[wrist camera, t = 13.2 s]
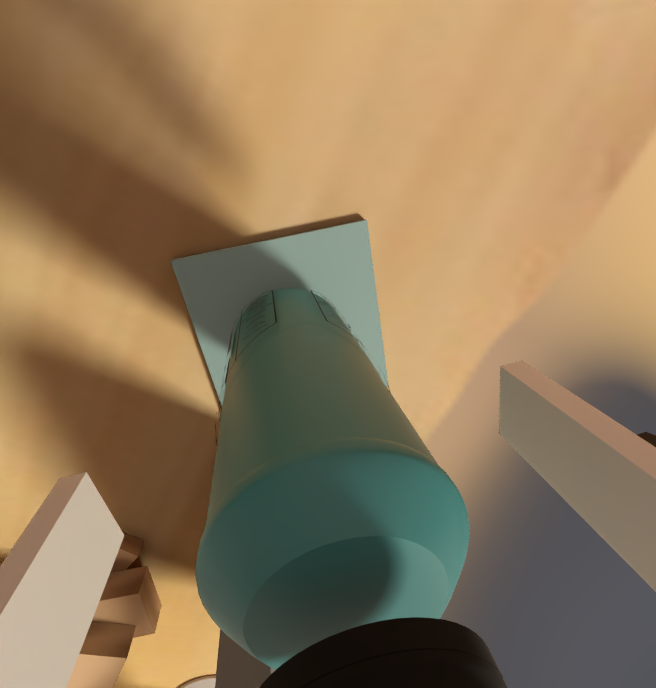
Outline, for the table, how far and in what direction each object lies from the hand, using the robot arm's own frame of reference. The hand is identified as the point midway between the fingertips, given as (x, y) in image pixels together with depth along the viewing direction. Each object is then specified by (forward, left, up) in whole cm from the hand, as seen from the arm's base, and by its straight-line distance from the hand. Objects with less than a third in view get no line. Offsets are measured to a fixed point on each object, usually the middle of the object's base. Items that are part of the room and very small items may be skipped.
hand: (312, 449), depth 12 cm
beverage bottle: (0, 0, -12) cm, 12 cm away
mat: (0, 0, -12) cm, 12 cm away
